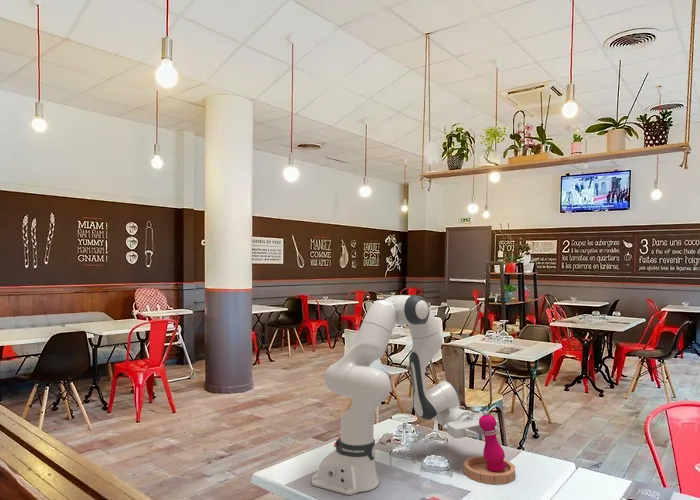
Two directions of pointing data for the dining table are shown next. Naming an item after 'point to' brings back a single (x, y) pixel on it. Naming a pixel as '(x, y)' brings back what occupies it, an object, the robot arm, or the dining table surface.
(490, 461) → the pepper mill
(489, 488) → the dining table surface
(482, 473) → the round tray
